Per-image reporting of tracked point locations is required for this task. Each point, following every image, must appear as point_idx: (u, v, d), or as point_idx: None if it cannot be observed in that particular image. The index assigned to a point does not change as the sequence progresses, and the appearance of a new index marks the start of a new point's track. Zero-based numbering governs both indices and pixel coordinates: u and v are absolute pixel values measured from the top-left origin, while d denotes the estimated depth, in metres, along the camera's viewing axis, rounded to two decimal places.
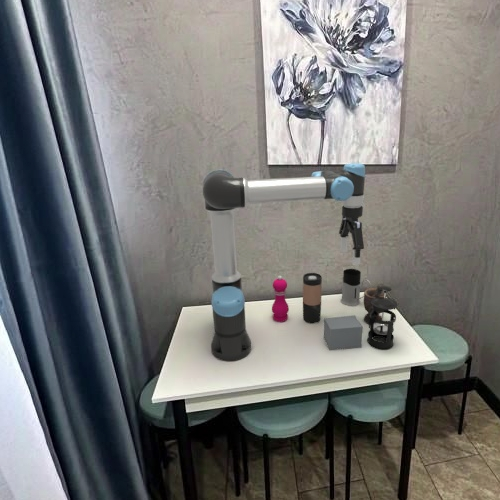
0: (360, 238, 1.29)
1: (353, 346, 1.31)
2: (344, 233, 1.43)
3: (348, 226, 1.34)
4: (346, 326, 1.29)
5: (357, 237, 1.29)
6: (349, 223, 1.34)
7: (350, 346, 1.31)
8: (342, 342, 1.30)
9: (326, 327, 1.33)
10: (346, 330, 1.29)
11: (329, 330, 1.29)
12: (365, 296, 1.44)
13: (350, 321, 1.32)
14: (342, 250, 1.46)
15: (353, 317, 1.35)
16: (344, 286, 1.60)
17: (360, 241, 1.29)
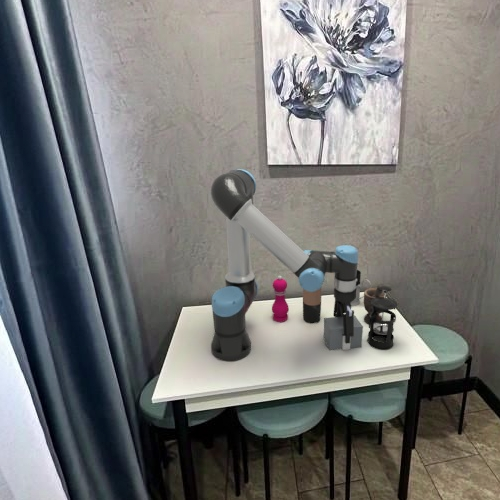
0: (350, 326, 1.24)
1: (353, 346, 1.31)
2: (338, 316, 1.35)
3: (340, 309, 1.28)
4: None
5: (348, 325, 1.24)
6: (341, 307, 1.27)
7: (350, 345, 1.31)
8: None
9: (326, 327, 1.33)
10: None
11: (329, 330, 1.29)
12: (365, 296, 1.44)
13: None
14: None
15: None
16: None
17: (350, 329, 1.25)
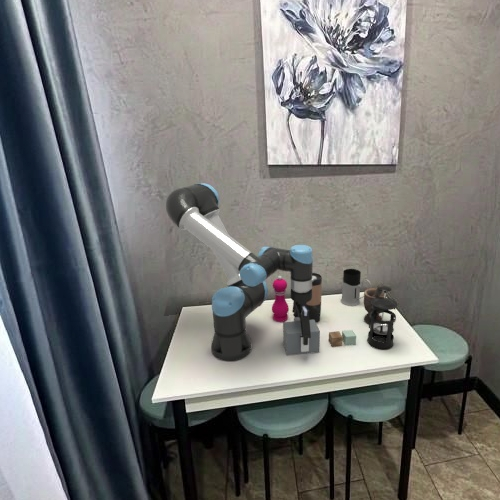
0: (307, 326, 1.21)
1: (311, 351, 1.30)
2: (296, 313, 1.34)
3: (297, 310, 1.26)
4: None
5: (304, 326, 1.21)
6: (298, 307, 1.25)
7: None
8: (300, 347, 1.29)
9: (284, 331, 1.31)
10: None
11: (286, 335, 1.28)
12: (365, 296, 1.44)
13: None
14: None
15: (312, 321, 1.33)
16: (344, 286, 1.60)
17: (307, 330, 1.21)
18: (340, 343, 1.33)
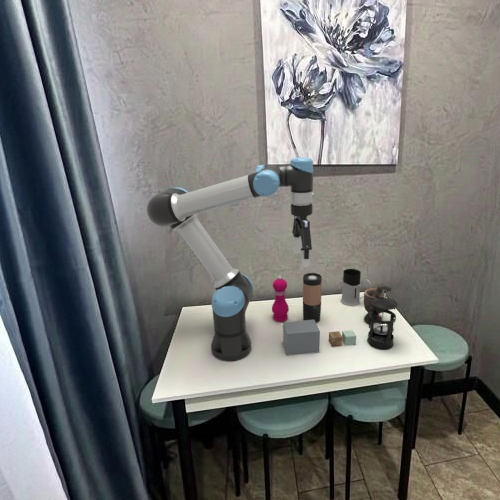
0: (307, 238, 1.19)
1: (311, 351, 1.30)
2: (296, 233, 1.34)
3: (297, 225, 1.25)
4: (303, 331, 1.28)
5: (304, 237, 1.19)
6: (298, 222, 1.24)
7: (307, 350, 1.29)
8: (300, 347, 1.29)
9: (284, 331, 1.31)
10: (303, 334, 1.27)
11: (286, 335, 1.28)
12: (365, 296, 1.44)
13: (308, 325, 1.31)
14: (295, 251, 1.37)
15: (312, 321, 1.33)
16: (344, 286, 1.60)
17: (308, 241, 1.19)
18: (340, 343, 1.33)
